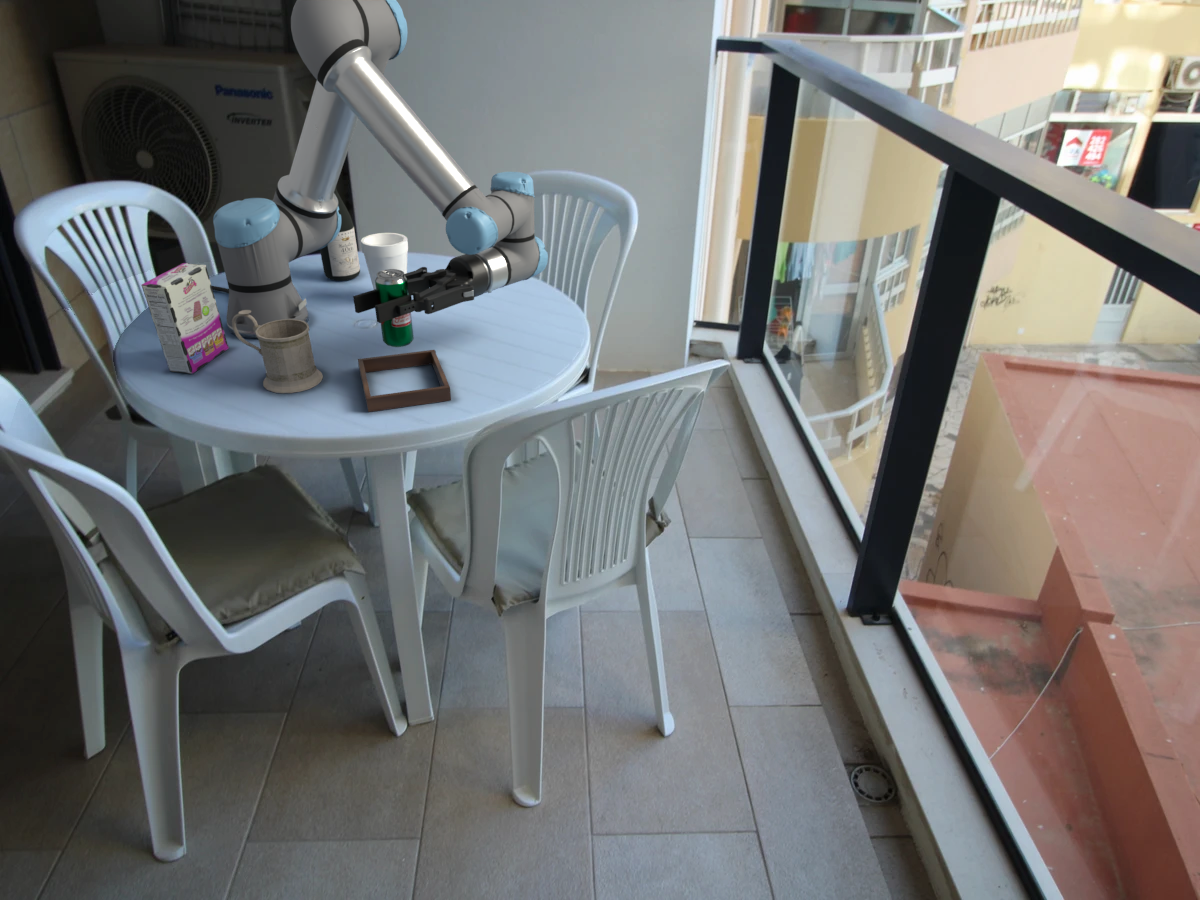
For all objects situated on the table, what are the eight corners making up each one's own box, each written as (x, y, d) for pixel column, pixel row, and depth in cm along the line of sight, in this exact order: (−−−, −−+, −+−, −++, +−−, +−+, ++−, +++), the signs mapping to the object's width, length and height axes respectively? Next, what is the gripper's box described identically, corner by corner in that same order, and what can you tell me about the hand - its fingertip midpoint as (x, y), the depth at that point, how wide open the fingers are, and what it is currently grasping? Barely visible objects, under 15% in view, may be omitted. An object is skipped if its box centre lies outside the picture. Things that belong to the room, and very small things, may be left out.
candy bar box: (206, 346, 146) (182, 261, 138) (230, 349, 146) (208, 264, 137) (166, 372, 137) (139, 283, 128) (192, 375, 136) (166, 286, 128)
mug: (333, 371, 139) (321, 308, 132) (303, 396, 131) (289, 330, 124) (261, 361, 141) (246, 299, 135) (227, 385, 133) (210, 320, 127)
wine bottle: (367, 276, 180) (347, 140, 164) (336, 285, 175) (313, 145, 159) (349, 268, 184) (327, 134, 168) (318, 276, 180) (293, 139, 164)
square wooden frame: (359, 371, 139) (357, 358, 138) (435, 361, 143) (434, 349, 142) (368, 412, 127) (366, 398, 125) (451, 400, 131) (450, 387, 129)
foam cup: (422, 296, 170) (416, 238, 163) (392, 309, 163) (384, 249, 157) (391, 287, 174) (384, 230, 167) (360, 300, 168) (351, 240, 161)
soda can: (398, 351, 128) (390, 281, 121) (376, 343, 130) (367, 274, 123) (420, 340, 131) (413, 272, 125) (398, 333, 133) (390, 266, 127)
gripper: (512, 307, 135) (404, 347, 120) (444, 281, 145) (337, 316, 130) (510, 265, 131) (399, 302, 116) (441, 241, 141) (329, 273, 126)
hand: (366, 309), depth 123 cm, fingers closed on soda can, 5 cm apart
